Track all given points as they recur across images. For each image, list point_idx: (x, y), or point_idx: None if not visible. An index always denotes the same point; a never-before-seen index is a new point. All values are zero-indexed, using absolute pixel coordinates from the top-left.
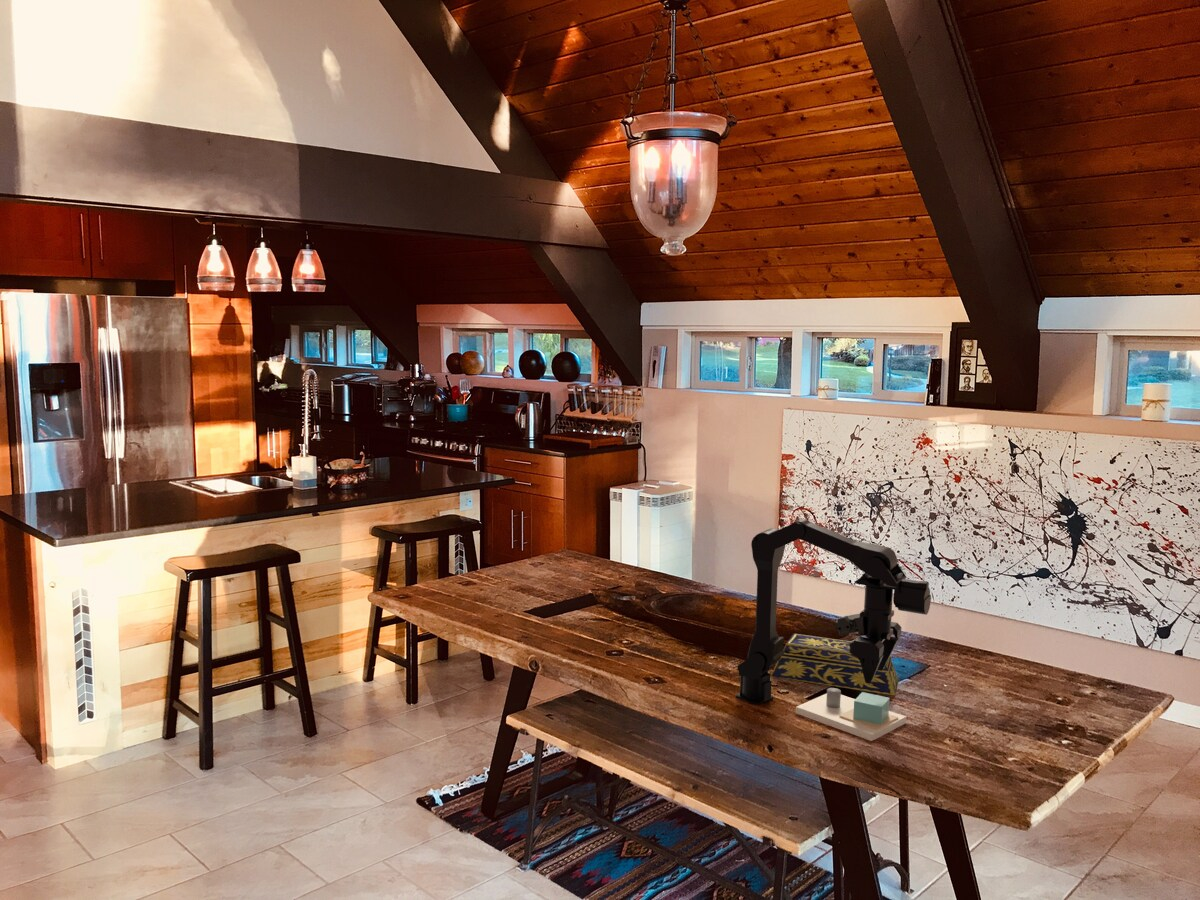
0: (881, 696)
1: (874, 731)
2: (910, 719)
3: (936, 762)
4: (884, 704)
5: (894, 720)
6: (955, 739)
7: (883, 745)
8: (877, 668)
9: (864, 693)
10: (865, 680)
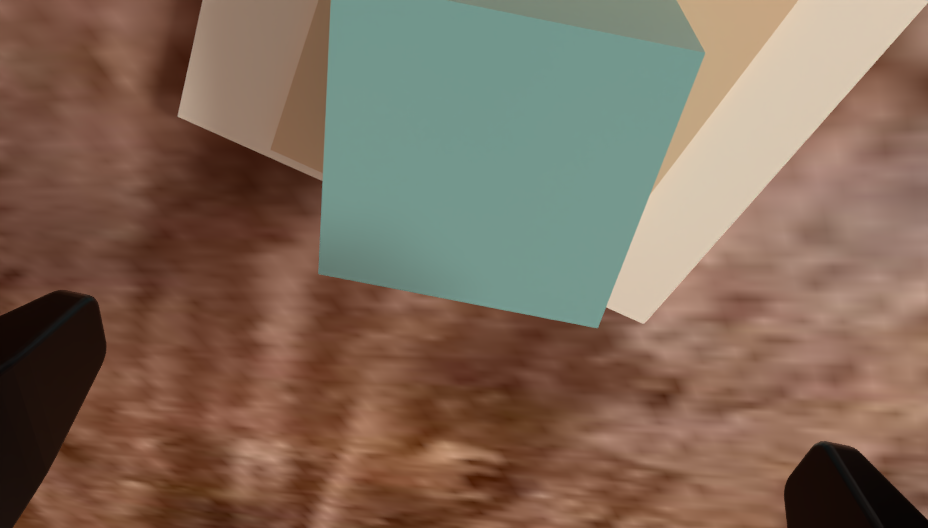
0: (612, 263)
1: (242, 131)
2: (718, 316)
3: (162, 402)
4: (401, 289)
5: None
6: (491, 481)
7: (188, 171)
8: (826, 459)
9: (654, 86)
10: (24, 317)
